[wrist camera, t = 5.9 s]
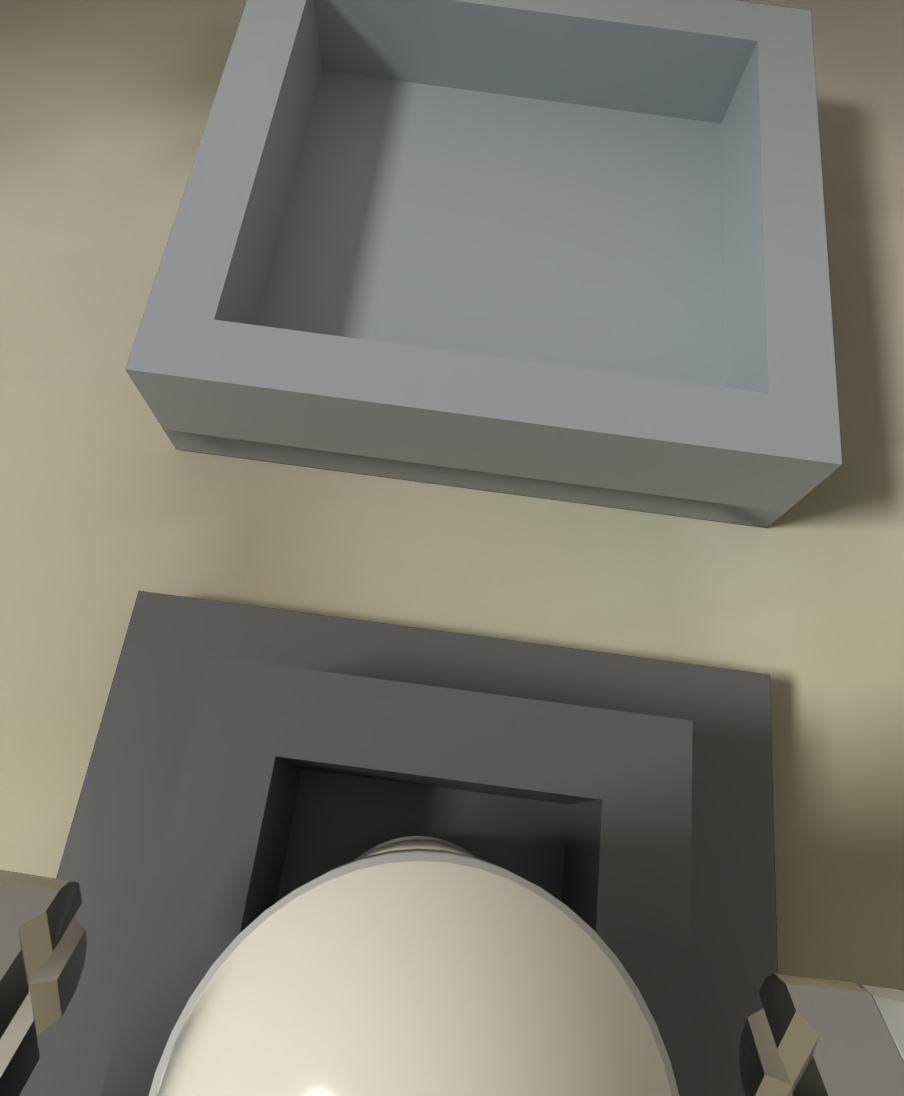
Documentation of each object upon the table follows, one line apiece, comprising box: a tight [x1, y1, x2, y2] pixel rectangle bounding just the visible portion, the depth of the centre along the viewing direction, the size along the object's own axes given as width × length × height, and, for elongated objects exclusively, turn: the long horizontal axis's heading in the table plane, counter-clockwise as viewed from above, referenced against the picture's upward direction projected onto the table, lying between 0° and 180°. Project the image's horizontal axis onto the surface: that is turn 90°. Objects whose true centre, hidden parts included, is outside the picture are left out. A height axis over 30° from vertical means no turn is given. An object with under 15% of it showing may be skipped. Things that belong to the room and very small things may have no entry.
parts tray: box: [125, 0, 842, 528], centre depth 19 cm, size 15×14×4 cm
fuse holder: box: [19, 591, 778, 1096], centre depth 13 cm, size 14×12×4 cm
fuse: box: [149, 835, 679, 1096], centre depth 10 cm, size 4×4×10 cm
